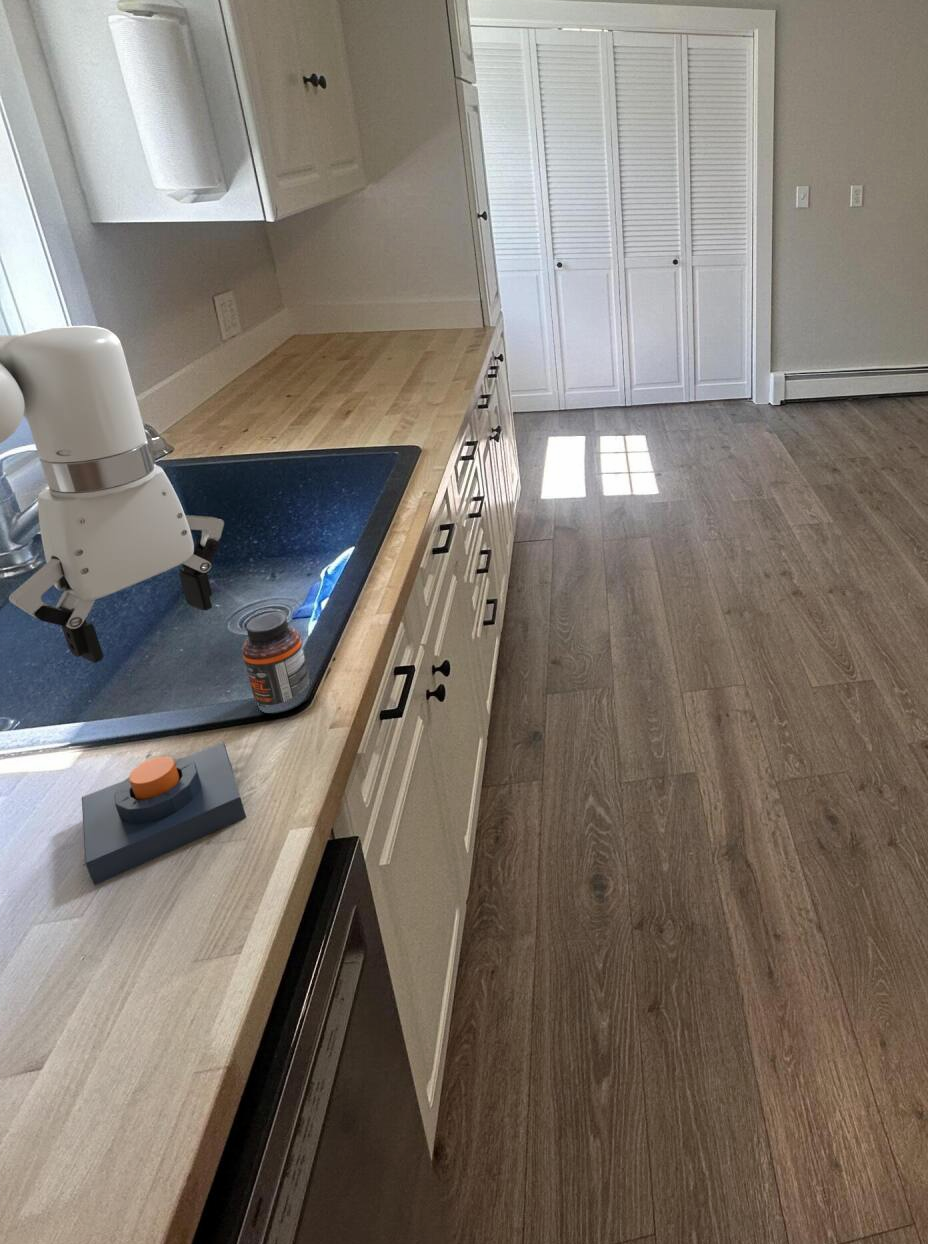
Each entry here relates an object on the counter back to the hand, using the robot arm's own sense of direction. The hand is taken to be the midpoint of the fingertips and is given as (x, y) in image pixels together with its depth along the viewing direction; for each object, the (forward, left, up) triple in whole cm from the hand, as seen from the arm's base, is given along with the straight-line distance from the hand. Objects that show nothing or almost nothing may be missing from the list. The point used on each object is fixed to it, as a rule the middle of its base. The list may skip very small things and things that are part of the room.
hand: (148, 630), depth 76 cm
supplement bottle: (+5, +12, -19) cm, 23 cm away
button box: (0, -5, -19) cm, 19 cm away
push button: (0, -5, -15) cm, 15 cm away
